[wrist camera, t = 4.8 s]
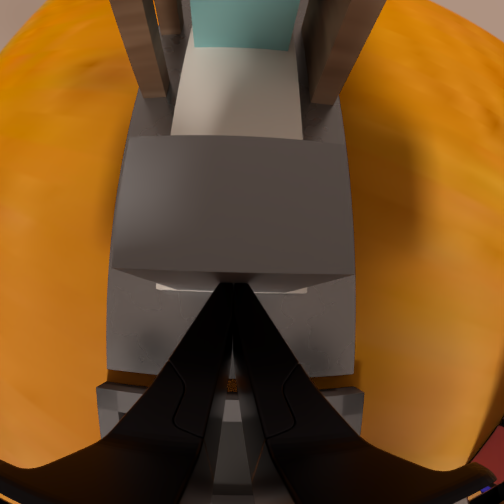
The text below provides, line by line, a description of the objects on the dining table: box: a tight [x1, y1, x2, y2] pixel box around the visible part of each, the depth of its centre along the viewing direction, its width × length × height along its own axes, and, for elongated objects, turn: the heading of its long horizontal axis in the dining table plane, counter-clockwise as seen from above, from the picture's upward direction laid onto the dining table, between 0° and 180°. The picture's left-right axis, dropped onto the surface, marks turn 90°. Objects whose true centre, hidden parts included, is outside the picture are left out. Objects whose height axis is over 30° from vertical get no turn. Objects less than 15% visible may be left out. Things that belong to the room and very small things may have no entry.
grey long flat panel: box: [106, 0, 356, 379], centre depth 18 cm, size 33×13×1 cm, turn 179°
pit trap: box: [96, 381, 364, 504], centre depth 14 cm, size 8×14×2 cm, turn 89°
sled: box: [112, 0, 355, 294], centre depth 12 cm, size 21×7×9 cm, turn 179°
